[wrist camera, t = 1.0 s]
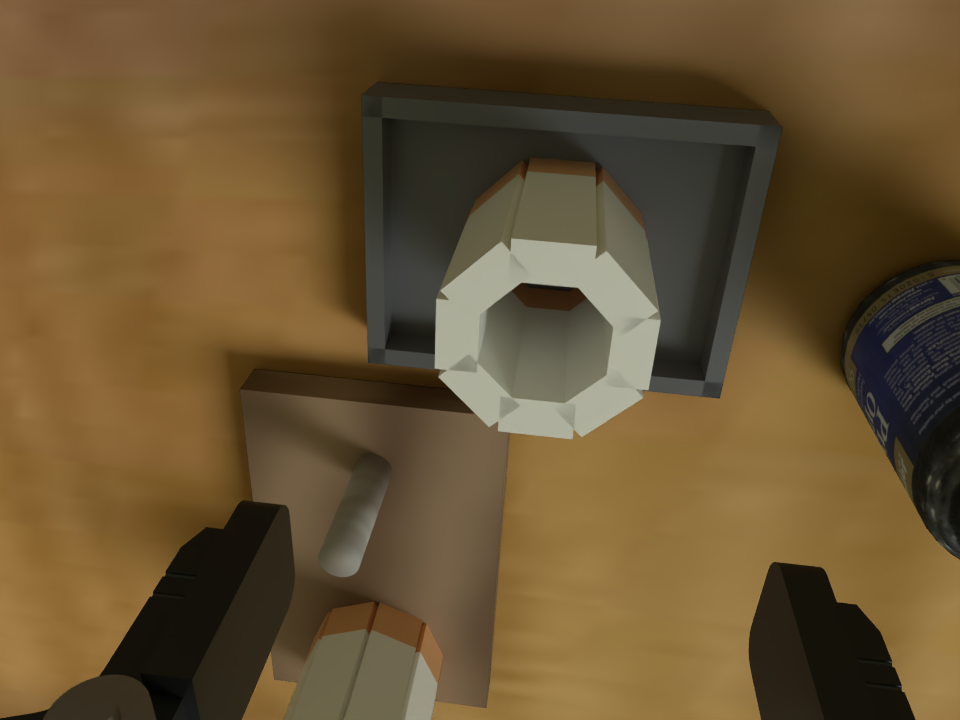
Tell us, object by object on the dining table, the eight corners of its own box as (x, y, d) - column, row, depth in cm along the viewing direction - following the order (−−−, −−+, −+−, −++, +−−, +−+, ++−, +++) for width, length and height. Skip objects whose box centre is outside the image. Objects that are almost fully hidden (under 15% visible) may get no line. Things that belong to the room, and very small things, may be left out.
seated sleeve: (411, 594, 34) (372, 744, 28) (457, 682, 36) (430, 837, 30) (297, 615, 35) (236, 761, 29) (348, 697, 38) (301, 849, 32)
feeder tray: (768, 111, 24) (782, 126, 22) (711, 368, 29) (719, 398, 27) (376, 82, 25) (361, 95, 23) (381, 336, 30) (368, 362, 28)
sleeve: (652, 166, 25) (673, 252, 19) (627, 326, 27) (638, 446, 21) (474, 152, 25) (437, 231, 19) (467, 311, 28) (433, 424, 22)
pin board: (512, 395, 30) (495, 507, 25) (489, 680, 38) (472, 814, 33) (254, 369, 31) (180, 471, 25) (284, 653, 39) (233, 780, 33)
